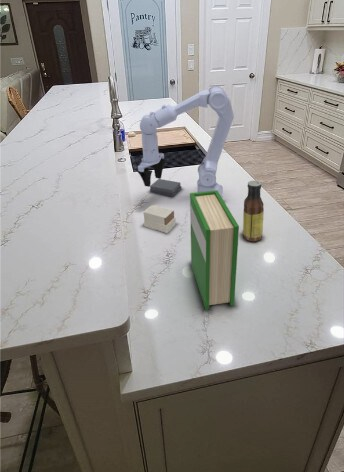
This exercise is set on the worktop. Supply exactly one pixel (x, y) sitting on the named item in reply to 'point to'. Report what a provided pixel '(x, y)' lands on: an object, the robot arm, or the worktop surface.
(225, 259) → the hardback book
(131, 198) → the worktop surface
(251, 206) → the sauce bottle
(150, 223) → the cream rectangular block
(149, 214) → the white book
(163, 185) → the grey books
